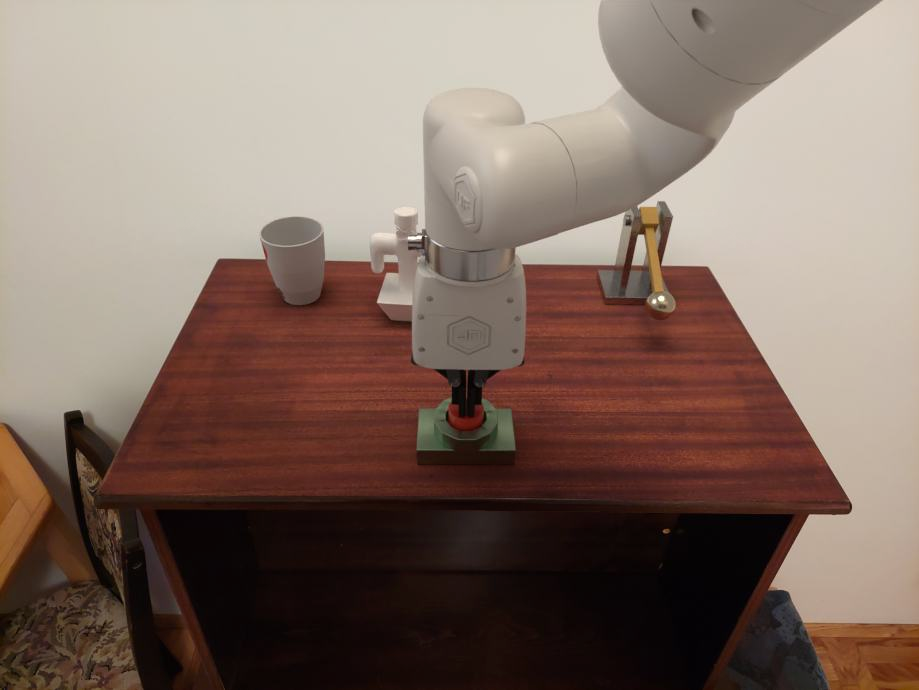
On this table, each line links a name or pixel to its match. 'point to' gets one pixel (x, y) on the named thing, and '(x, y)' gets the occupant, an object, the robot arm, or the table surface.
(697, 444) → the table surface
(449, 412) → the button
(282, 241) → the cup
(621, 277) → the bracket
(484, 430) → the button box
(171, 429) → the table surface
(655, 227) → the lever
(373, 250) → the figurine
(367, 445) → the table surface
